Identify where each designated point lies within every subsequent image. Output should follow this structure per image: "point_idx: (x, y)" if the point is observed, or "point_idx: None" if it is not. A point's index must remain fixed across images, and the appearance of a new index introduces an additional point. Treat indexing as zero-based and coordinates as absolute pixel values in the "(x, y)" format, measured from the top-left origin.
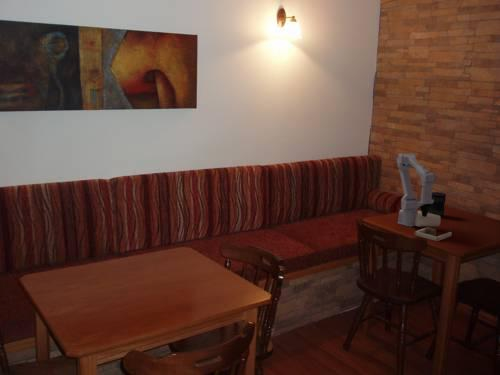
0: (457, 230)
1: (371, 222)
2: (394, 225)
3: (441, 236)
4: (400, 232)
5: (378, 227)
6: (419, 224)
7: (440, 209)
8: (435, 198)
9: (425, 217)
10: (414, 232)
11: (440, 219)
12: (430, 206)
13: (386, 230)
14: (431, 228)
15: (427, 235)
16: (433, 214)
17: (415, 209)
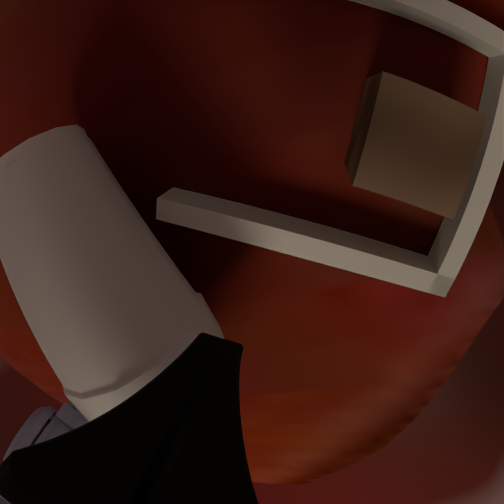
0: (32, 27)
1: (274, 475)
2: (246, 416)
3: (460, 7)
4: (404, 370)
5: (350, 455)
6: (209, 311)
7: None
8: None
9: (137, 319)
10: (443, 292)
11: (32, 137)
12: (65, 495)
13: (393, 426)
14: (391, 142)
15: (501, 156)
16: (13, 256)
17: (75, 428)
